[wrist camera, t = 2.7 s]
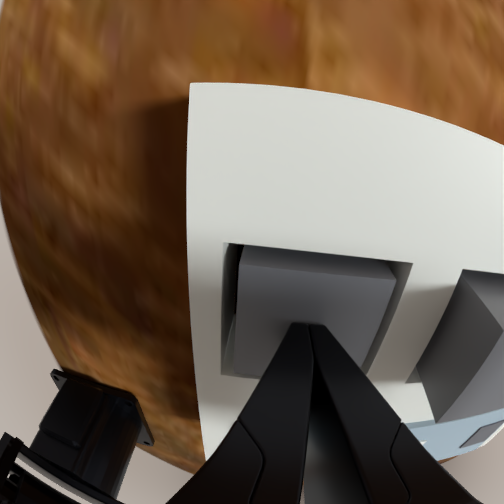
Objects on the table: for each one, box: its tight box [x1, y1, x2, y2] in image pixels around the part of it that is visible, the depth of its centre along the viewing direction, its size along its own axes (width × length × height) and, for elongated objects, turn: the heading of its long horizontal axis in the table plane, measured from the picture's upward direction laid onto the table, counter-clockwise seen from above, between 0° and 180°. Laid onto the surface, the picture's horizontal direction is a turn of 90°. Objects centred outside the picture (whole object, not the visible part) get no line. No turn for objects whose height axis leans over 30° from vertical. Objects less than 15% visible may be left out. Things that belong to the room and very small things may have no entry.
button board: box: [187, 83, 504, 461], centre depth 9 cm, size 16×18×3 cm
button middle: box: [416, 269, 504, 424], centre depth 6 cm, size 4×4×3 cm
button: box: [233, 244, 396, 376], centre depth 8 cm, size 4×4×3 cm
